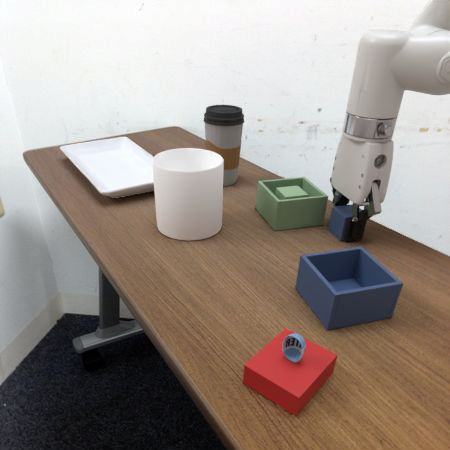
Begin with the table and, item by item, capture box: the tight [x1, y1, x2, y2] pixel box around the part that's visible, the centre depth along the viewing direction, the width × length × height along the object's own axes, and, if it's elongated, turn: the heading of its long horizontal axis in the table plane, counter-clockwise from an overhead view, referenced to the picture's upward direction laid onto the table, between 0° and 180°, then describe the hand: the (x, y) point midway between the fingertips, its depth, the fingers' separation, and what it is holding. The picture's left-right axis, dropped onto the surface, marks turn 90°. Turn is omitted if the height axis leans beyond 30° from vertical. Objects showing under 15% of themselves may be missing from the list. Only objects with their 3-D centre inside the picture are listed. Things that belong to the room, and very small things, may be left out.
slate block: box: [327, 203, 368, 242], centre depth 74 cm, size 4×4×4 cm
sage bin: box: [255, 176, 329, 232], centre depth 79 cm, size 10×10×6 cm
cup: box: [152, 147, 224, 242], centre depth 73 cm, size 12×12×12 cm
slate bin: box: [295, 246, 404, 331], centre depth 58 cm, size 10×10×6 cm
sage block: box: [275, 186, 308, 200], centre depth 79 cm, size 4×4×4 cm
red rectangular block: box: [242, 328, 338, 417], centre depth 46 cm, size 8×7×6 cm
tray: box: [59, 136, 154, 199], centre depth 95 cm, size 17×32×4 cm, turn 31°
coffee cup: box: [203, 104, 245, 187], centre depth 90 cm, size 8×8×15 cm
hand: (345, 232), depth 76 cm, fingers closed on slate block, 4 cm apart
